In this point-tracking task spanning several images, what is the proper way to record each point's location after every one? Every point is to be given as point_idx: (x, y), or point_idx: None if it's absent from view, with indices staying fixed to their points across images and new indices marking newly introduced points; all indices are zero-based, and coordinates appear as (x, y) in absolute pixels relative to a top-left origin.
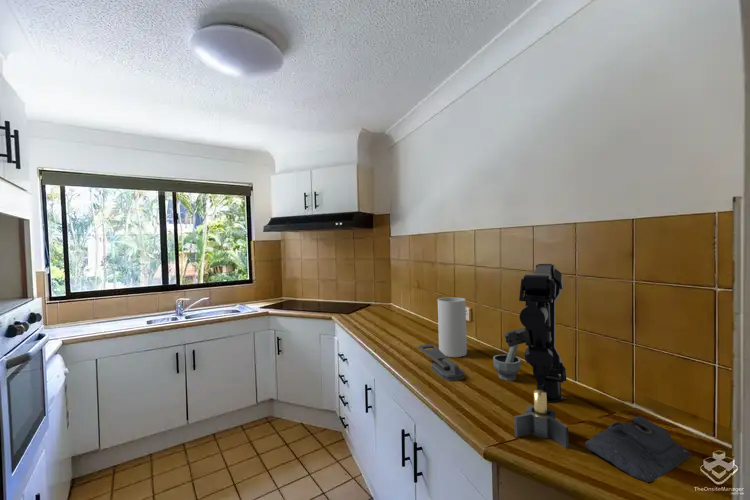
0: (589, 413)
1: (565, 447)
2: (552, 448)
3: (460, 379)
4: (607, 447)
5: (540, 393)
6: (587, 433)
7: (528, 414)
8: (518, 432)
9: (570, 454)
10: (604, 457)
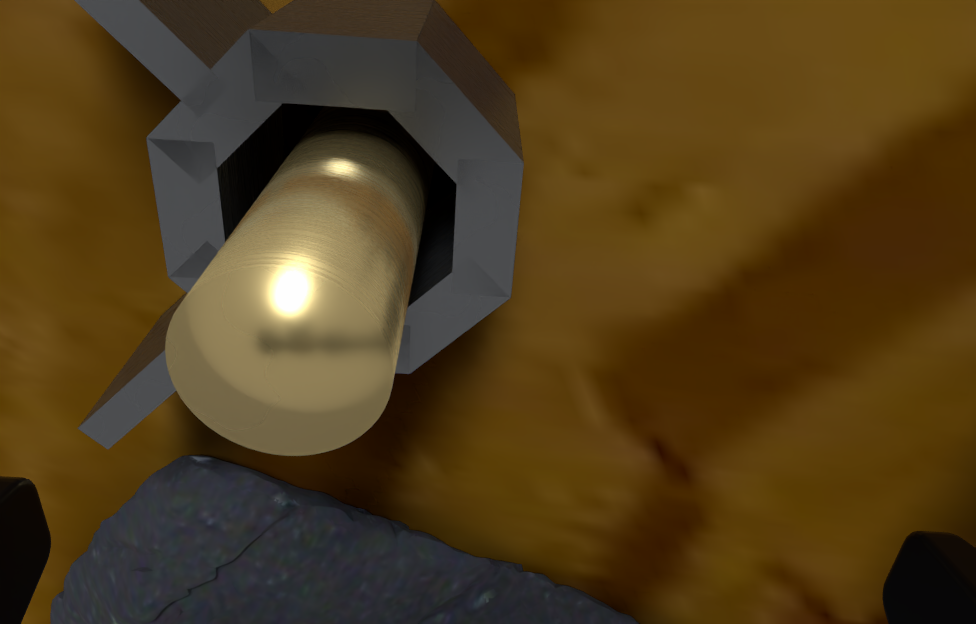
0: (835, 527)
1: (163, 314)
2: (95, 216)
3: None
4: (131, 594)
5: (228, 374)
6: (485, 472)
7: (154, 62)
8: None
9: (92, 333)
10: (101, 531)
